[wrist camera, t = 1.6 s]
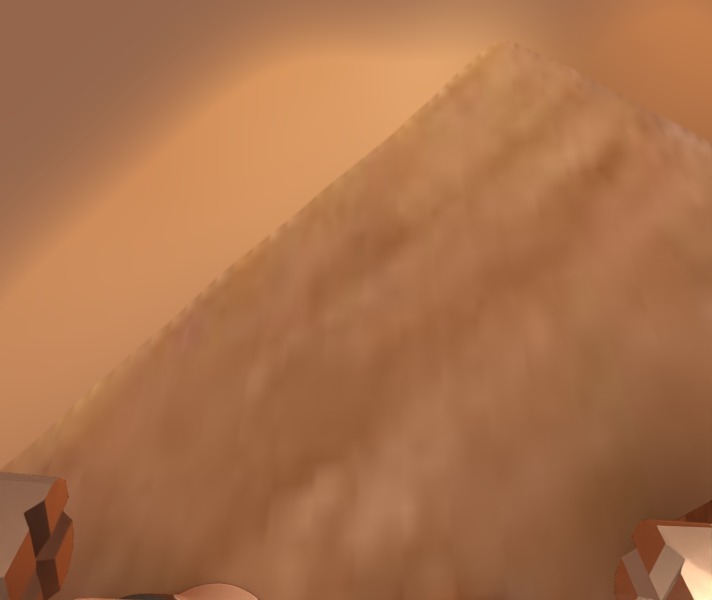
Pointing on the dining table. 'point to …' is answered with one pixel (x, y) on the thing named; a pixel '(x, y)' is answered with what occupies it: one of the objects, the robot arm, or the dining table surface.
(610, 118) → the dining table surface
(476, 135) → the dining table surface
